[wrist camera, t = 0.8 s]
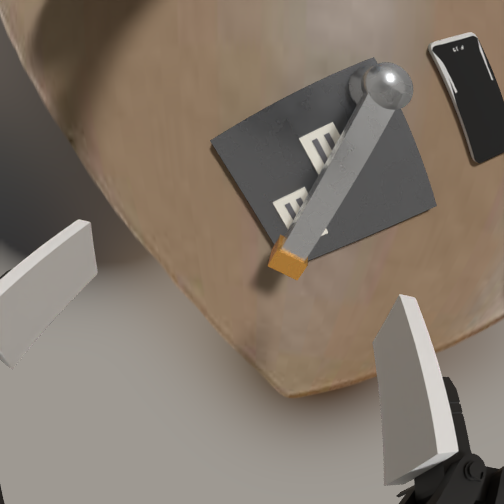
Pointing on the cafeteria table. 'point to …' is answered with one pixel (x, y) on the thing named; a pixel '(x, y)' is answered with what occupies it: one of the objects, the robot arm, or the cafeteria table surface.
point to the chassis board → (304, 173)
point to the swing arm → (343, 165)
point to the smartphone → (472, 93)
